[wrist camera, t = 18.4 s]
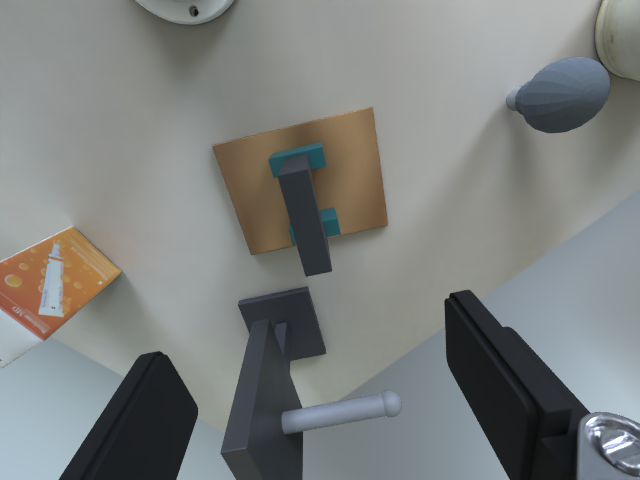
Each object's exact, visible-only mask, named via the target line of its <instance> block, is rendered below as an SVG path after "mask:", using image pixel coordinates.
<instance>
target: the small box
mask: <svg viewBox="0 0 640 480" xmlns="http://www.w3.org/2000/svg"><path fill="white" fill-rule="evenodd" d="M121 273H122V271H121V270H119V269H118V268H117V267H116V266H115V265H114V264H113V263H111V262H110V261H109V260H108V259H107V258H106V257H105V256H104V255H103V254H102V253H101V252H100V251H99V250H97V249H96V248H95V247H94V246H93V245H92V244H91V243H90V242H89V241H88V240H87V239H86V238H85V237H84V236H83V235H82V234H81V233H80V232H79V231H78V230H77V229H76V228H75V227H74V226H71V227H69V228H67V229H65V230H63V231H61V232H59V233H57V234H55V235H53V236H51V237H48V238H46V239H44V240H42V241H41V242H39V243H37V244H35V245H32V246H30V247H28V248H26V249H25V250H23V251H21V252H19V253H17V254H15V255H13V256H11V257H9V258H7V259H5V260H3V261H1V262H0V367H1V368H4V367H5V366H7V365H8V364H10V363H11V362H12V361H14V360H16V359H17V358H19V357H20V356H21V355H23V354H25V353H26V352H27V351H29V350H31V349H32V348H34V347H35V346H37V345H38V344H40V343H41V342H43V341H44V340H46V339H47V338H48V337H49V336H51V335H52V334H53V333H54V332H55V331H56V330H58V329H59V328H60V327H61V326H62V325H63V324H64V323H66V322H67V321H68V320H69V319H70V318H71V317H72V316H74V315H75V314H76V313H77V312H78V311H79V310H80V309H81V308H83V307H84V306H85V305H86V304H87V303H88V302H89V301H91V300H92V299H93V298H94V297H95V296H96V295H97V294H99V293H100V292H101V291H102V290H103V289H104V288H105V287H106V286H108V285H109V284H110V283H111V282H112V281H113V280H114V279H115V278H116V277H118V276H119V275H120V274H121Z"/></svg>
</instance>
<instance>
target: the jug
mask: <svg viewBox="0 0 640 480" xmlns="http://www.w3.org/2000/svg"><path fill="white" fill-rule="evenodd" d="M595 45H596V50H597V53H598V56H599V58H600V60H601V62H602V63H603V65H604V66H605V67H606V68H607V69H608V70H609V71H610V72H612V73H613V74H615V75H617V76H620V77H624V78H630V79H633V80H637V81H640V0H603V1H602V3H601V6H600V9H599V12H598V16H597V20H596V25H595Z"/></svg>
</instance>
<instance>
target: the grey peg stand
mask: <svg viewBox="0 0 640 480" xmlns="http://www.w3.org/2000/svg"><path fill="white" fill-rule="evenodd" d="M238 306H239V309H240V311H241V314H242V316H243V318H244V321H245V323H246V326H247V328H248V331H249V333H250V336H249V340H248V344H247V348H246V352H245V356H244V360H243V364H242V368H241V372H240V376H239V380H238V384H237V388H236V392H235V396H234V400H233V404H232V408H231V412H230V416H229V420H228V424H227V428H226V433H225V437H224V441H223V445H222V449H221V455H222V457H223V458H224V460H225V462H226V463H227V465H228V466H229V468H230V470H231V472H232V473H233V475H234V477H235V478H236V480H302V470H303V469H302V468H303V431H306V430H312V429H317V428H323V427H328V426H334V425H339V424H344V423H350V422H355V421H361V420H365V419H372V418H377V417H382V416H387V417H394V416H397V415H398V414H399V413H400V411H401V408H402V402H401V399H400V397H399V395H398V394H397V393H396V392H394V391H391V390H386V391H383V392H382V393H381V394H376V395H370V396H365V397H360V398H354V399H349V400H344V401H338V402H333V403H328V404H323V405H317V406H312V407H307V408H302V406H301V403H300V400H299V397H298V395H297V392H296V389H295V386H294V384H293V381H292V378H291V376H290V361H292V360H297V359H302V358H307V357H312V356H317V355H322V354H326V349H325V346H324V342H323V339H322V335H321V331H320V328H319V324H318V321H317V317H316V314H315V310H314V307H313V303H312V300H311V296H310V293H309V289H308V287H303V288H299V289H294V290H289V291H284V292H280V293H275V294H270V295H265V296H261V297H256V298H251V299H246V300H242V301H239V303H238Z"/></svg>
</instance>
